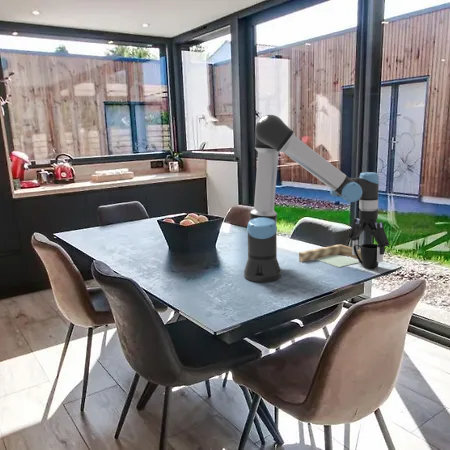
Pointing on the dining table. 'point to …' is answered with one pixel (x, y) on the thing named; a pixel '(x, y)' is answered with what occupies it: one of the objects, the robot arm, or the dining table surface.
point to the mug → (368, 255)
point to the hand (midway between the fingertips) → (367, 258)
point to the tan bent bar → (327, 252)
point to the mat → (337, 260)
